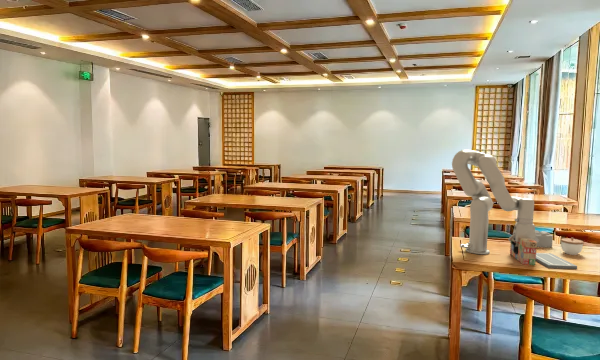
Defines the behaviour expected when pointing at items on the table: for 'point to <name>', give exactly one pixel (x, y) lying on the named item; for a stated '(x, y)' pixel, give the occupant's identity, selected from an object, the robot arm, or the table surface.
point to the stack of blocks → (525, 251)
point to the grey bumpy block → (544, 239)
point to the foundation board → (553, 261)
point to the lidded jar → (571, 246)
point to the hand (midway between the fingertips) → (522, 253)
